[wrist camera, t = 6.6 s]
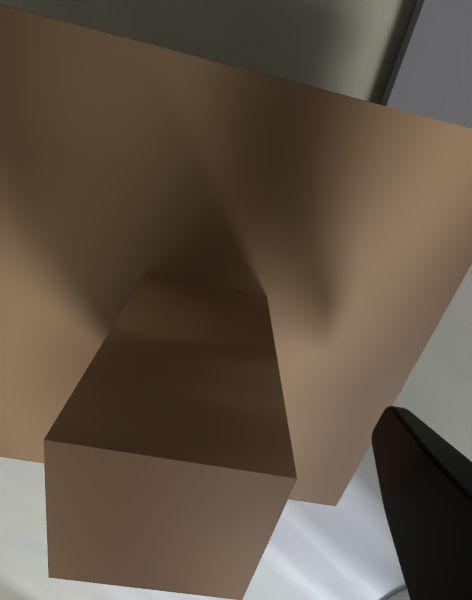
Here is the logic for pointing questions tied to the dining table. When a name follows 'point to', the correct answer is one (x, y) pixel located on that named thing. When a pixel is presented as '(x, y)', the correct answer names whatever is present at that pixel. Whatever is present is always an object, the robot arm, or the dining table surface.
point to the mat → (435, 63)
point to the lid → (204, 294)
